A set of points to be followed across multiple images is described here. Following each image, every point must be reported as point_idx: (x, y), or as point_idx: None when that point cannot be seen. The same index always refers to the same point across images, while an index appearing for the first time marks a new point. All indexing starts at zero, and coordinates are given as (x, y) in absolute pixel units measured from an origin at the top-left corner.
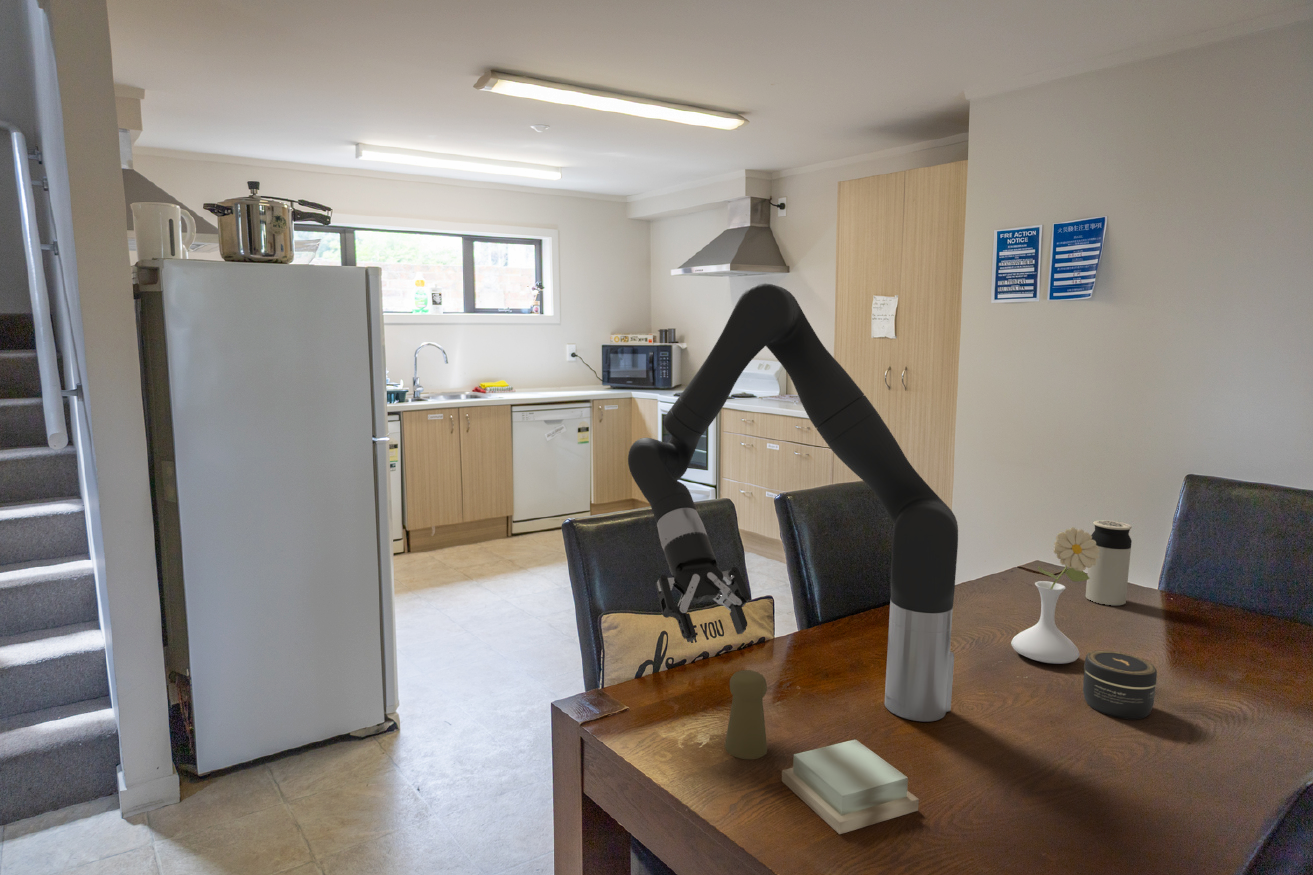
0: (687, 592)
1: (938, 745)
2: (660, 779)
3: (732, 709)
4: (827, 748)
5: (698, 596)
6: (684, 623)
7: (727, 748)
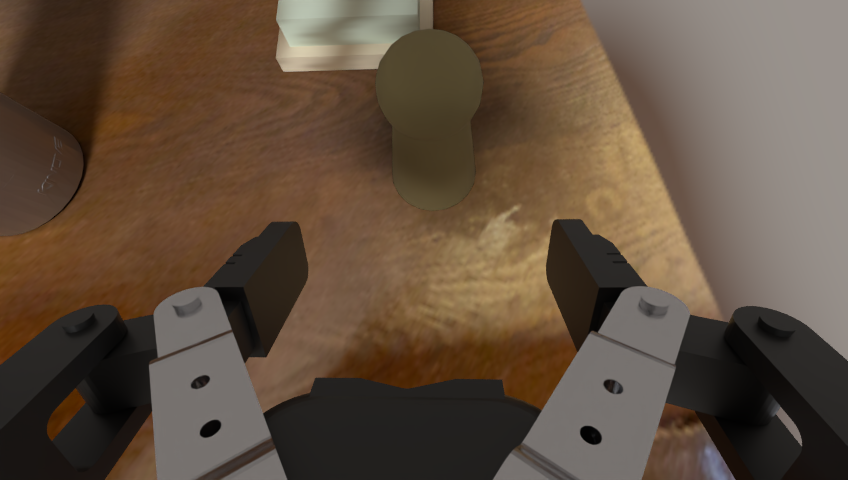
0: (652, 384)
1: (118, 66)
2: (634, 136)
3: (470, 129)
4: (346, 12)
5: (499, 384)
6: (620, 269)
7: (475, 169)
